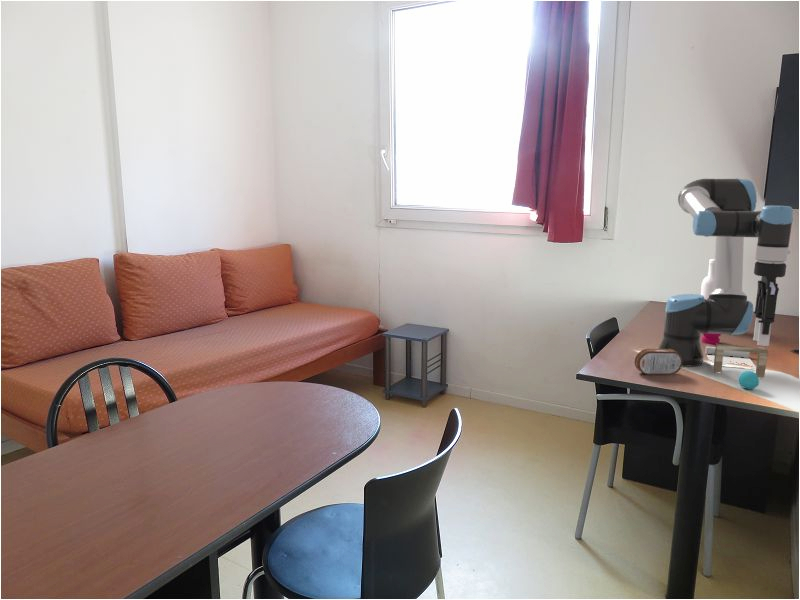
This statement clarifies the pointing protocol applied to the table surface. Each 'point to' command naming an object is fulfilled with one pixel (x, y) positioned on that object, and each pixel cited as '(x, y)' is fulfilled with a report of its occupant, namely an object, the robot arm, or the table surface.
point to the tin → (658, 361)
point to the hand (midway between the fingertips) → (760, 342)
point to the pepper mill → (710, 337)
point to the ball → (748, 379)
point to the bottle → (708, 280)
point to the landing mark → (733, 360)
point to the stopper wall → (728, 352)
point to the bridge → (760, 350)
